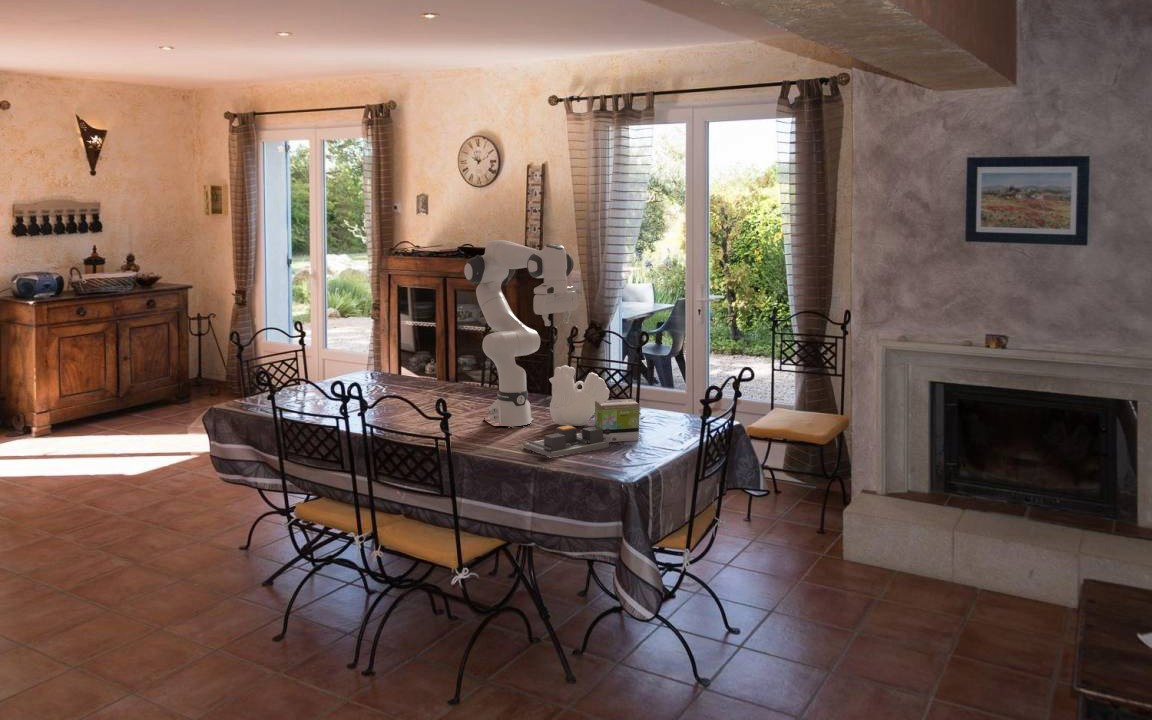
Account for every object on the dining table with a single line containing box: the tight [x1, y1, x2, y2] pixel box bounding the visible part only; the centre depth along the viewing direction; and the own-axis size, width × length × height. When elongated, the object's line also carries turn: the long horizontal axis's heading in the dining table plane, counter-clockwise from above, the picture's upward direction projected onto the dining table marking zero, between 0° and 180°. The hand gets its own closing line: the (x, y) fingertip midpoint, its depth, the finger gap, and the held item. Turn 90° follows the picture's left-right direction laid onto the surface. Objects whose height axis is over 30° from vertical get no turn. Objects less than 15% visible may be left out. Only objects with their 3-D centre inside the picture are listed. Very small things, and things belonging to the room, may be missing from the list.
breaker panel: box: [523, 425, 610, 457], centre depth 370 cm, size 18×26×7 cm
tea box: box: [594, 398, 640, 443], centre depth 381 cm, size 15×10×15 cm, turn 105°
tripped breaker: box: [554, 425, 582, 445], centre depth 369 cm, size 9×9×6 cm
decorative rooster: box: [548, 365, 610, 427], centre depth 405 cm, size 25×16×25 cm, turn 95°
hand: (556, 324), depth 376 cm, fingers open, 8 cm apart
